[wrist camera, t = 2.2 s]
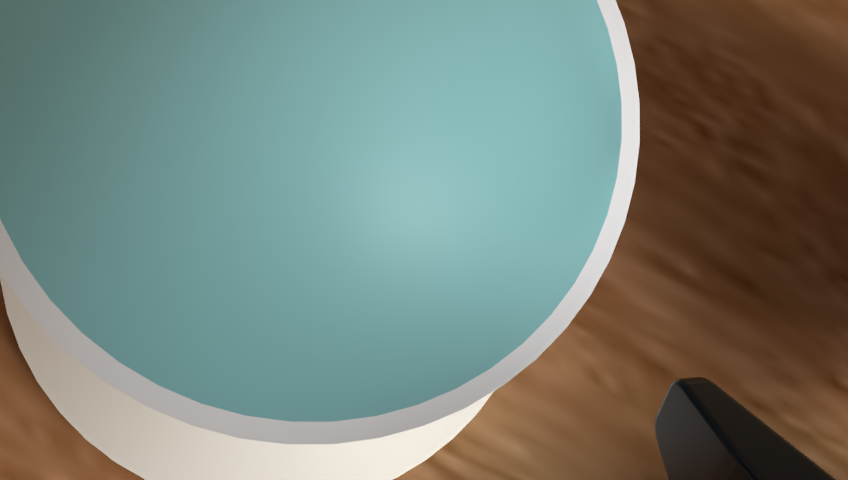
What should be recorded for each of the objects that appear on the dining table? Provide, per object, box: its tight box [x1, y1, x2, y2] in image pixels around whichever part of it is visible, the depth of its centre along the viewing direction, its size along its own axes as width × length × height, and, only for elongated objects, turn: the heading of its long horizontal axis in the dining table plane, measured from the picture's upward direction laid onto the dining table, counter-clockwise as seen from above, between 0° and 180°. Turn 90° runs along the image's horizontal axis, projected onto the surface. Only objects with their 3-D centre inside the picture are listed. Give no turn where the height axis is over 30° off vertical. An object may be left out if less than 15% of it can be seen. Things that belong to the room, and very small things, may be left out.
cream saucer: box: [0, 274, 494, 480], centre depth 19 cm, size 13×13×1 cm
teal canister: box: [0, 0, 640, 444], centre depth 13 cm, size 6×6×12 cm
